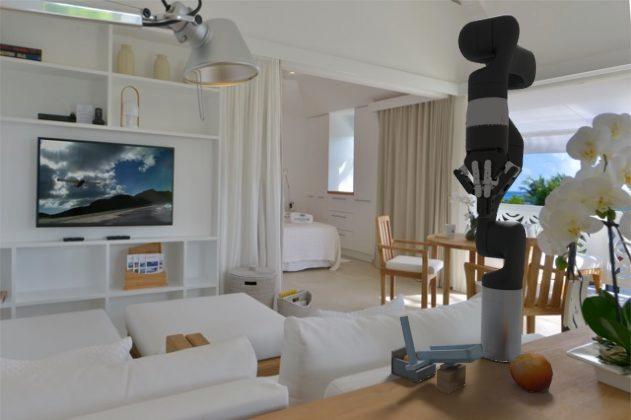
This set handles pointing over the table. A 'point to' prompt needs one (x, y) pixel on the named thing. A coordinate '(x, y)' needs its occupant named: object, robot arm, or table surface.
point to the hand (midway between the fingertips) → (485, 217)
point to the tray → (399, 364)
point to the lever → (438, 351)
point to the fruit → (531, 372)
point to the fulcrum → (451, 377)
